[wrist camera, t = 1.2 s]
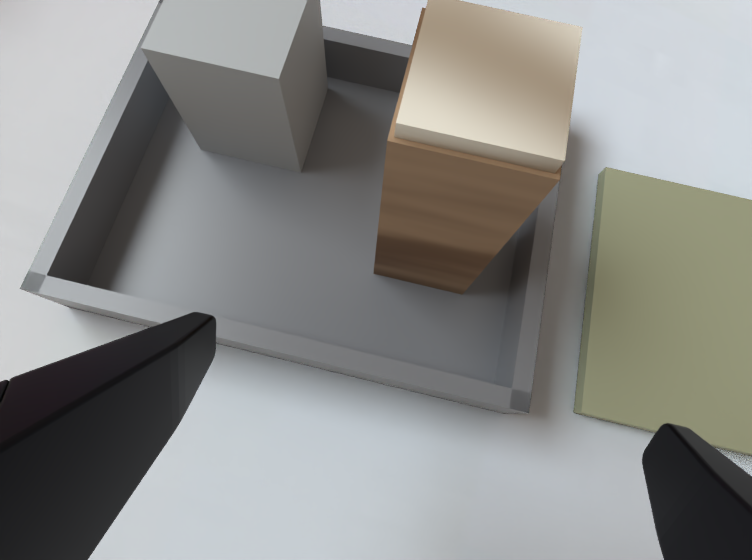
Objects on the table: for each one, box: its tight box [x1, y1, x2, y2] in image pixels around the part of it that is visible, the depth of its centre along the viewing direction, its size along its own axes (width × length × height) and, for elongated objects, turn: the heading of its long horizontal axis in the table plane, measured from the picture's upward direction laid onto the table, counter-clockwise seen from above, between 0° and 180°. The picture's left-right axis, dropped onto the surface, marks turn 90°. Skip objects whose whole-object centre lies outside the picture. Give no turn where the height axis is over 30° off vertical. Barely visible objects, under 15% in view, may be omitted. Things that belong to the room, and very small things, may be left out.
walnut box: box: [373, 0, 582, 295], centre depth 17 cm, size 4×4×12 cm
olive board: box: [574, 167, 752, 456], centre depth 23 cm, size 13×10×1 cm
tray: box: [20, 0, 560, 414], centre depth 23 cm, size 17×22×3 cm
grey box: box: [141, 0, 328, 173], centre depth 22 cm, size 6×6×7 cm
